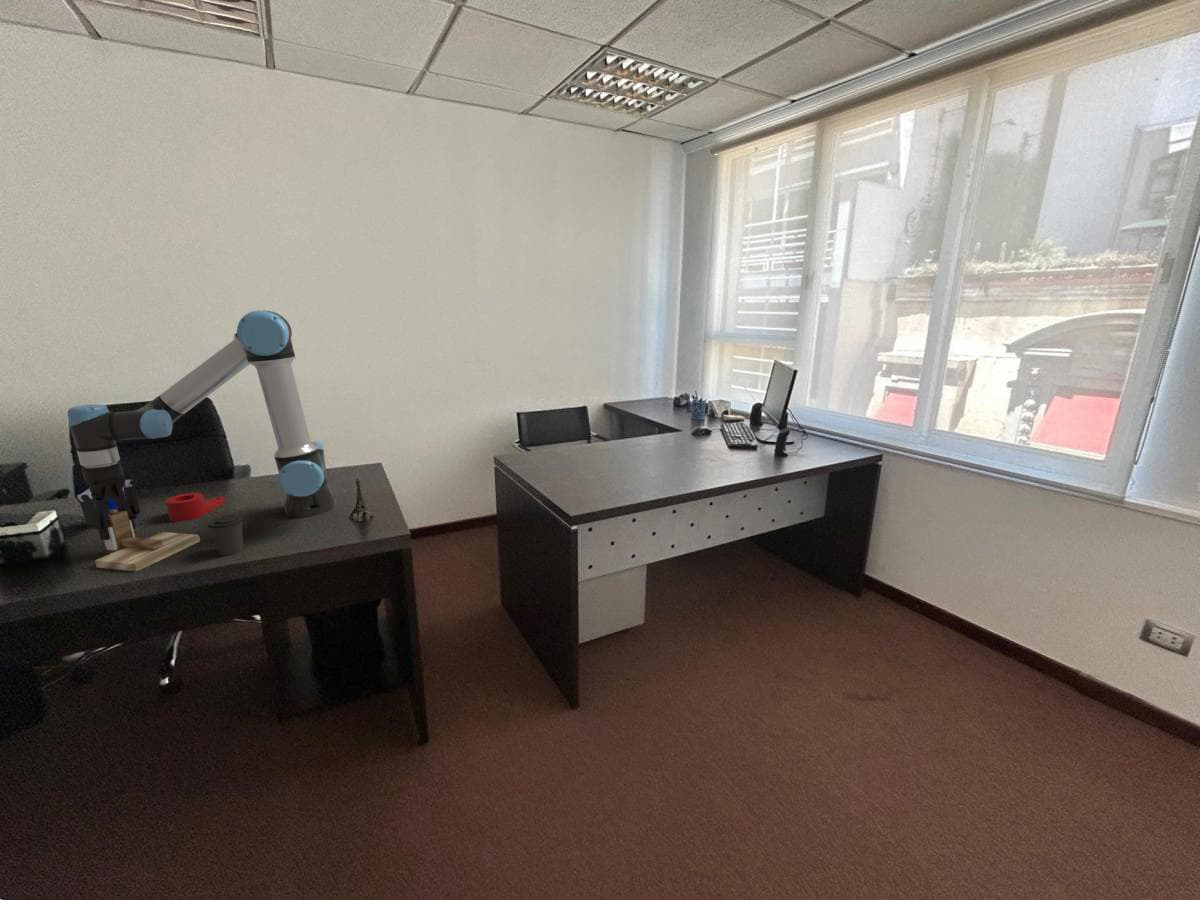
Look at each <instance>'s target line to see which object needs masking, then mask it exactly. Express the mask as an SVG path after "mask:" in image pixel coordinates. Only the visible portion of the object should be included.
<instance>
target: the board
mask: <svg viewBox="0 0 1200 900" xmlns="http://www.w3.org/2000/svg"><path fill="white" fill-rule="evenodd" d="M147 539H158V540H162V543H163V545H162V546H160V547H158V548H156V549H148V548H137V547H126V548H123V549H121V550H119V551H116V552H114V553H111V554H110V553H109V554H106V555H104V556H102V557H99V558H98V559H95V560H94V563H95V567H96V568H97V569H108V570H110V569H111V570H119V571H131V572H138V571H140V570H142V569H144V568H147V567H149V566H151V565H153V564H155V563H158V562H159V561H161V560H163V559H165V558H169V557H170V556H172V555H174V554H176V553H178V552H181V551H183V550H186V549H187V548H189V547H192V546H193V545H195V544H197V543H199V542H201V538H200V535H199V534H194V533H193V534H192V533H191V534H190V533H182V532H181V533H179V532H168V531H162V532H160V533H157V534H154V535H151V536H149V537H147Z"/></svg>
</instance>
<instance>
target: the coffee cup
mask: <svg viewBox="0 0 1200 900" xmlns="http://www.w3.org/2000/svg"><path fill="white" fill-rule="evenodd" d="M244 520H245V518H244V517H243V516H241V515H237V514H233V515H223V516H220V517H216V518H214V519H212V520H210V521H209V522H208V524H207V528H210V529H209V530H211V533H212V537H213V539H214V542H215V545H216V548H217V551H218V554H219V556H223V557H225V556H226V557H229V556H233V555H237V554H239V553H241V552H242V551H243V550H244V543H243V541H244V539H243V538H244V537H243V521H244Z"/></svg>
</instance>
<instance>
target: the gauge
mask: <svg viewBox="0 0 1200 900" xmlns="http://www.w3.org/2000/svg"><path fill="white" fill-rule="evenodd" d="M108 515H109V527H113V531H114V535H115V538H116V542H117V546H118V549H117V550H108V551H109V554H111V553H114V552H116V551H119V550H121V549H123V548H126V547H137V548H148V549H156V548H158V547H160V546H162V545H163V543H162V540H158V539H147V538H148V537H147V538H145V537H136V536H135V537H133V534H132V530H131V526H130V522H129V518H128V514H127V511H117V509H112V510H109V513H108Z"/></svg>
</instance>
